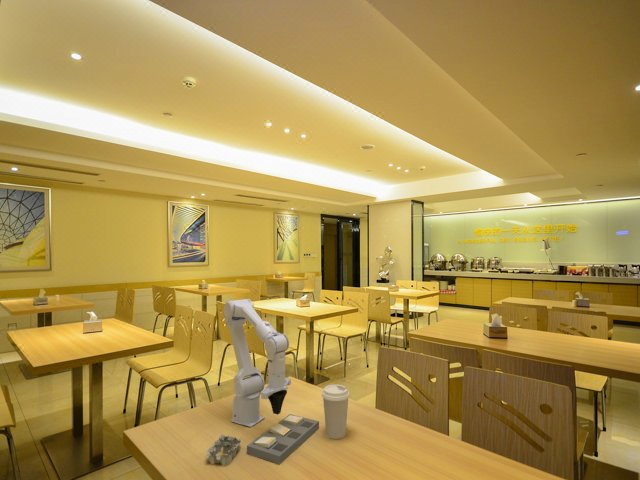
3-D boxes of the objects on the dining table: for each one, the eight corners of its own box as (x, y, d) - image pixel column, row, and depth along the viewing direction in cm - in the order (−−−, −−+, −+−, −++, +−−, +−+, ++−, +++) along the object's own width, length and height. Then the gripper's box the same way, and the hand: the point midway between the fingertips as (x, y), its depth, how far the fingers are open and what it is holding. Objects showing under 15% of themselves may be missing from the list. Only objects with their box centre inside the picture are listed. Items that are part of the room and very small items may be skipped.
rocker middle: (270, 431, 115) (270, 427, 115) (277, 426, 119) (277, 422, 119) (282, 438, 113) (283, 434, 113) (289, 433, 116) (290, 429, 116)
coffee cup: (348, 443, 112) (348, 395, 113) (319, 440, 114) (318, 393, 115) (351, 428, 122) (351, 384, 122) (324, 426, 124) (324, 382, 124)
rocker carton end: (255, 446, 108) (254, 442, 108) (263, 440, 111) (262, 436, 112) (268, 447, 106) (267, 443, 106) (276, 441, 109) (275, 437, 109)
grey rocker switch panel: (246, 453, 107) (246, 445, 107) (290, 420, 128) (290, 413, 128) (279, 464, 101) (279, 455, 101) (319, 428, 122) (319, 421, 122)
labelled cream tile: (284, 423, 122) (283, 419, 122) (290, 418, 126) (290, 414, 126) (296, 426, 120) (296, 422, 120) (302, 421, 123) (302, 417, 123)
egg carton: (228, 468, 100) (228, 453, 100) (204, 465, 102) (204, 450, 102) (243, 447, 111) (243, 434, 111) (221, 445, 112) (221, 432, 112)
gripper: (274, 380, 110) (274, 425, 109) (298, 367, 123) (298, 407, 122) (255, 377, 113) (255, 420, 112) (281, 364, 126) (281, 403, 125)
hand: (276, 413), depth 117 cm, fingers closed
